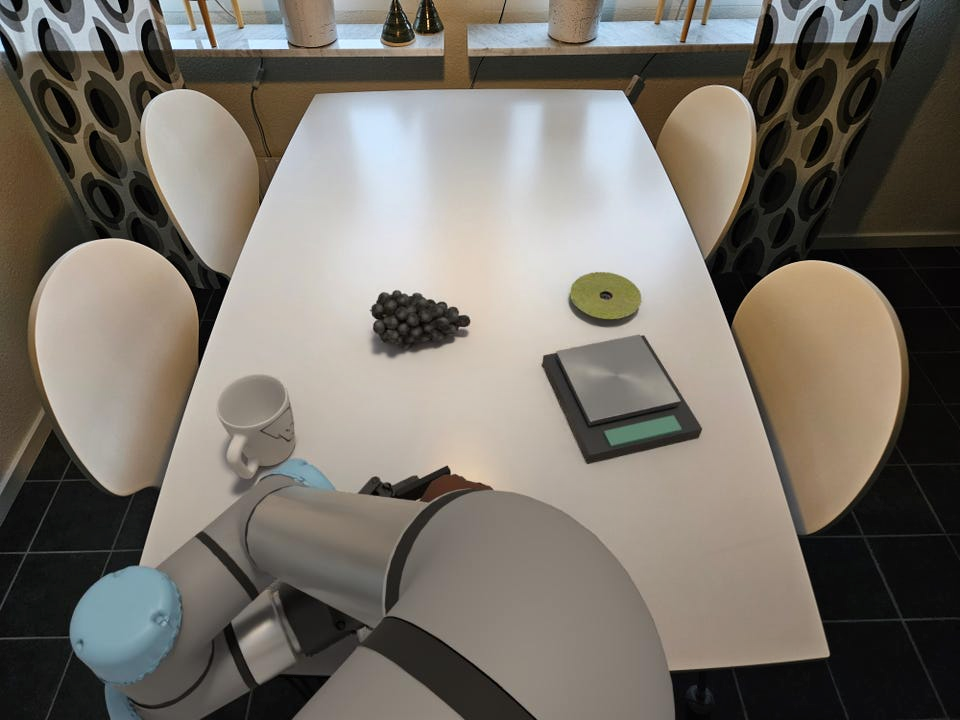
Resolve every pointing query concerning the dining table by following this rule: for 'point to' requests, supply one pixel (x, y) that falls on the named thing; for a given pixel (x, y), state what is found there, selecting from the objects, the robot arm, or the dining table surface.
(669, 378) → the scale
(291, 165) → the dining table surface
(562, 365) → the scale pan
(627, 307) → the mat
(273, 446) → the mug
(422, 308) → the fruit
